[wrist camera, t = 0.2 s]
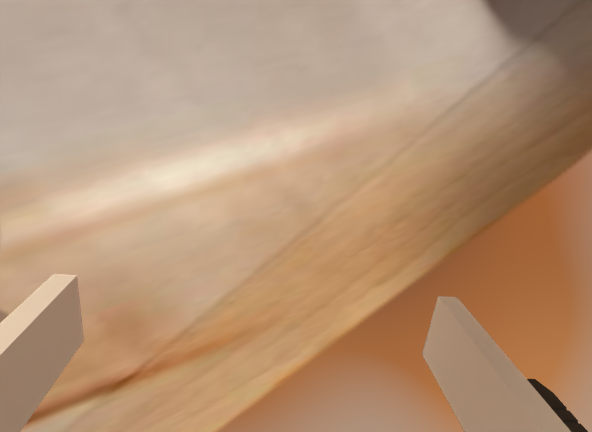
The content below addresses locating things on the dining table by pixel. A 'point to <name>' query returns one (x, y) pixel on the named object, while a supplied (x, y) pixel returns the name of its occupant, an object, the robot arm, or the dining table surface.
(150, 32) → the dining table surface
